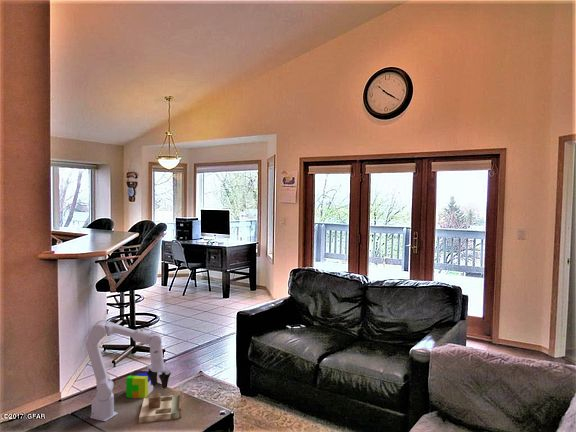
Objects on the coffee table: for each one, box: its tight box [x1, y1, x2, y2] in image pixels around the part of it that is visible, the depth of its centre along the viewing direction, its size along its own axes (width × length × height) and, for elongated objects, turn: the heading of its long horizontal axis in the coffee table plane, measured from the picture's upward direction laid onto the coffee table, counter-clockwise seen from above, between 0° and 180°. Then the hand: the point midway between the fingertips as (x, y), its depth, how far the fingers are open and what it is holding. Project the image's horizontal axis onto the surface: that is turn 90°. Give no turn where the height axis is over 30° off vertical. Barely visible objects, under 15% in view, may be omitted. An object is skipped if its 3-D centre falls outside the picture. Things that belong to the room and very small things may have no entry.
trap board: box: [138, 390, 183, 423], centre depth 194 cm, size 18×19×4 cm
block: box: [148, 392, 162, 409], centre depth 193 cm, size 5×5×5 cm
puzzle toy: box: [125, 370, 154, 399], centre depth 212 cm, size 10×10×10 cm
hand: (159, 386), depth 195 cm, fingers open, 7 cm apart
